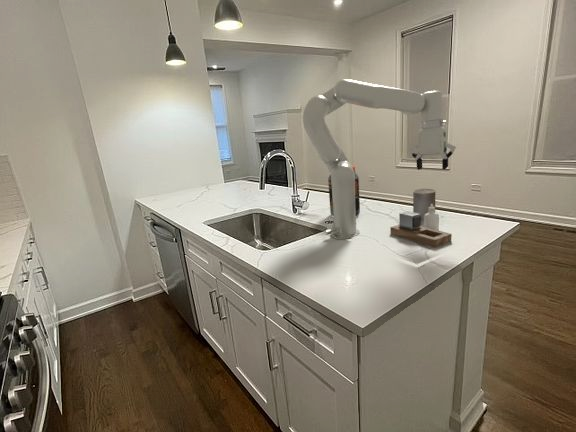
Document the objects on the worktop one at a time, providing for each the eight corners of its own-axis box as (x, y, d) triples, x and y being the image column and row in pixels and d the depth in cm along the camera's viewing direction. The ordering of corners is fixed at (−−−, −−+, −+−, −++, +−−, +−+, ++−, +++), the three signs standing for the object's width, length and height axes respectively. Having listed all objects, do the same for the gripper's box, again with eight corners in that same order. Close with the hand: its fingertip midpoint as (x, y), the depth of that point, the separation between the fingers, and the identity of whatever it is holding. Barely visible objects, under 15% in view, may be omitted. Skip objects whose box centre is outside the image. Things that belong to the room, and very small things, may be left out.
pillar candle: (430, 215, 156) (430, 185, 152) (438, 220, 146) (439, 188, 142) (410, 217, 156) (409, 187, 152) (417, 222, 147) (417, 191, 143)
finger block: (413, 238, 125) (414, 216, 123) (399, 234, 132) (399, 213, 129) (421, 235, 127) (422, 214, 125) (407, 231, 134) (407, 211, 131)
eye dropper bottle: (424, 229, 137) (424, 202, 133) (438, 230, 134) (439, 203, 131) (423, 233, 133) (424, 205, 130) (438, 233, 130) (439, 205, 127)
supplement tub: (338, 210, 181) (336, 164, 174) (364, 212, 172) (363, 164, 165) (325, 217, 169) (321, 169, 162) (352, 220, 159) (350, 169, 153)
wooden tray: (434, 250, 115) (434, 240, 114) (390, 236, 133) (390, 227, 132) (451, 243, 119) (451, 233, 118) (406, 231, 137) (406, 222, 136)
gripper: (458, 121, 119) (458, 167, 124) (413, 126, 131) (414, 167, 136) (452, 123, 114) (452, 170, 119) (405, 128, 126) (407, 170, 131)
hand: (432, 169), depth 127 cm, fingers open, 9 cm apart
